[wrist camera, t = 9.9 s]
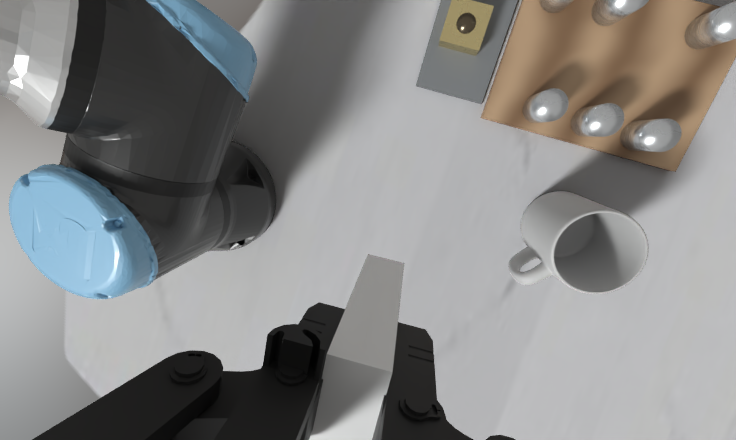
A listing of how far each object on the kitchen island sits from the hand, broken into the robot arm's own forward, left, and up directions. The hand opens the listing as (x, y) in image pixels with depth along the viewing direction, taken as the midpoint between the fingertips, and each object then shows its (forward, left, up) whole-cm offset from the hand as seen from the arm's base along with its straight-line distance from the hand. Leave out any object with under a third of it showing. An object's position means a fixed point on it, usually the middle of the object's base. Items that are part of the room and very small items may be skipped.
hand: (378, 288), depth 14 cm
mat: (+1, +18, -32) cm, 36 cm away
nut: (+1, +18, -31) cm, 36 cm away
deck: (+17, +18, -32) cm, 40 cm away
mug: (+18, -1, -32) cm, 36 cm away
